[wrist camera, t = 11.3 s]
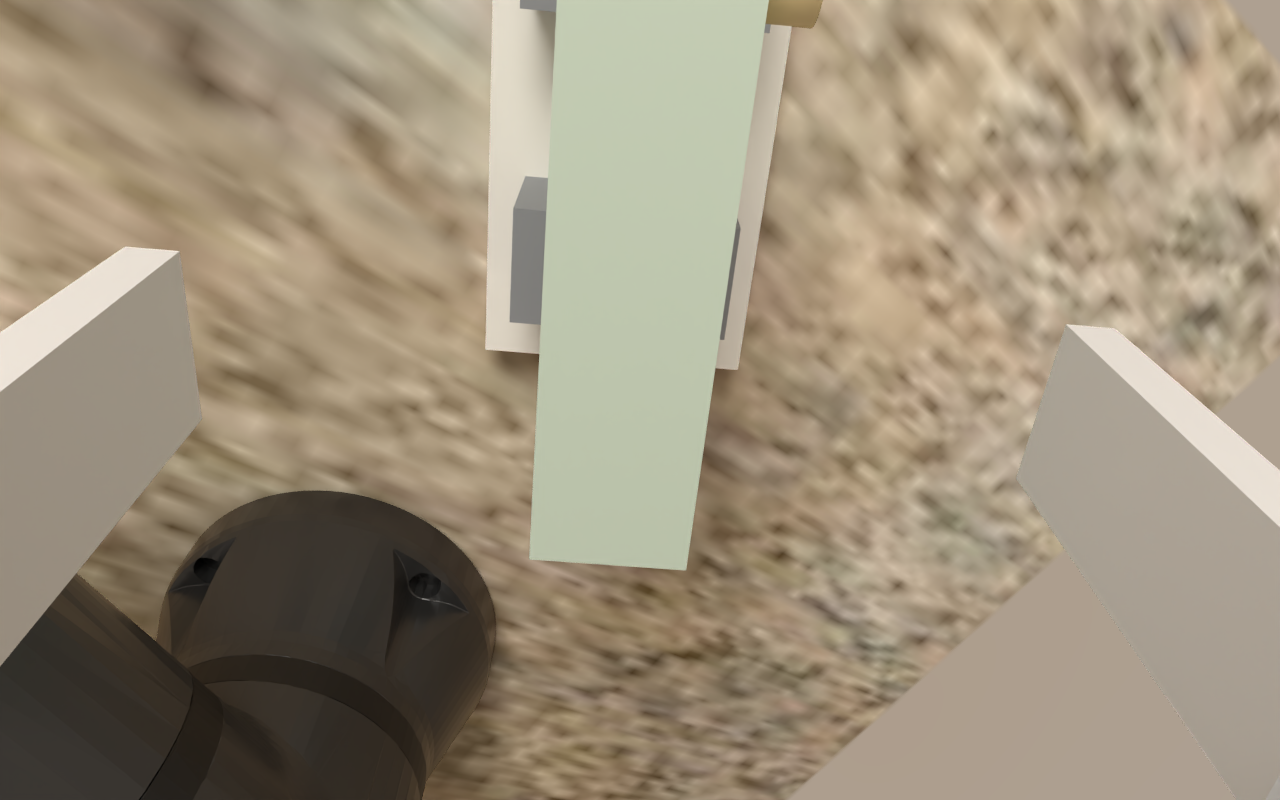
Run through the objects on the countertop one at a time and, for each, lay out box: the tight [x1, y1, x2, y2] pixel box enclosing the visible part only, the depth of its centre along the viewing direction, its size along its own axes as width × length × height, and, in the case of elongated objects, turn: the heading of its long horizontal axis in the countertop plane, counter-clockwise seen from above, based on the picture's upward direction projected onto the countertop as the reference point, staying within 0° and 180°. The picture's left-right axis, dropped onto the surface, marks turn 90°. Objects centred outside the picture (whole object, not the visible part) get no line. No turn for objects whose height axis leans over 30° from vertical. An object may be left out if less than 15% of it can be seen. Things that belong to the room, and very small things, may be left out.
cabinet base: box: [485, 0, 792, 370], centre depth 32 cm, size 20×10×6 cm, turn 175°
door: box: [529, 0, 823, 570], centre depth 26 cm, size 14×5×17 cm, turn 175°
